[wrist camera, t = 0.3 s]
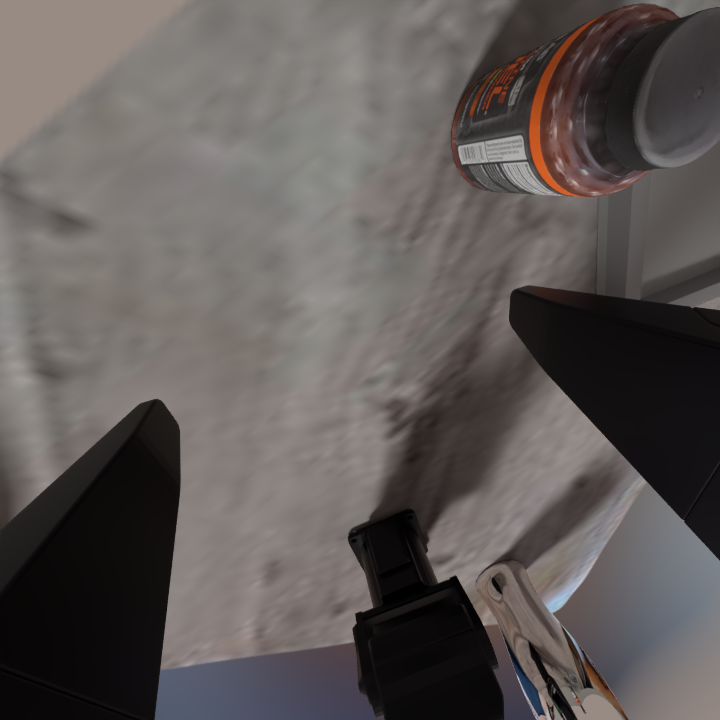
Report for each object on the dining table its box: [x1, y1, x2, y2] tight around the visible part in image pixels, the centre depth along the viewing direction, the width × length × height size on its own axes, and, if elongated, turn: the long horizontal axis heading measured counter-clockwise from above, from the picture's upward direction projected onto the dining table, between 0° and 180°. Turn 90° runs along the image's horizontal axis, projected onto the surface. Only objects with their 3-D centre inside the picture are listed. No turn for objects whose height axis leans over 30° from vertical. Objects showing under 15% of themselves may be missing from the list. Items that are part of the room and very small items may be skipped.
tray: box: [596, 138, 720, 308], centre depth 24 cm, size 12×12×2 cm
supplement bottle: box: [451, 4, 720, 197], centre depth 16 cm, size 6×6×11 cm
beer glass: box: [476, 560, 629, 720], centre depth 35 cm, size 7×7×15 cm
